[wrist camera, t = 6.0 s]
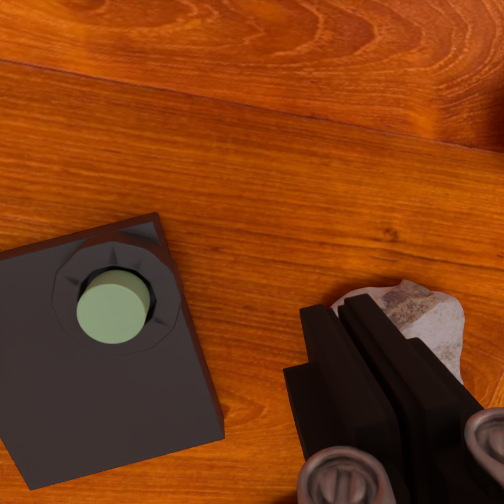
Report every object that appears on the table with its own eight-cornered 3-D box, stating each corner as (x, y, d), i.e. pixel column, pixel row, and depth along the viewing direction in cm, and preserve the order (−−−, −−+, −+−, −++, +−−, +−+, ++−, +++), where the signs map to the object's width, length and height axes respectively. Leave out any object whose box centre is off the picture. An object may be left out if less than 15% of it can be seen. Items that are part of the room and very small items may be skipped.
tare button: (77, 278, 20) (65, 293, 18) (138, 262, 20) (132, 276, 18) (99, 332, 21) (90, 351, 19) (158, 317, 21) (154, 334, 19)
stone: (442, 426, 29) (470, 464, 26) (312, 447, 29) (326, 489, 26) (450, 265, 25) (485, 288, 22) (301, 287, 25) (314, 313, 22)
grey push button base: (-65, 268, 22) (-113, 296, 19) (165, 209, 22) (158, 227, 19) (41, 465, 27) (18, 515, 24) (230, 415, 27) (234, 458, 24)
